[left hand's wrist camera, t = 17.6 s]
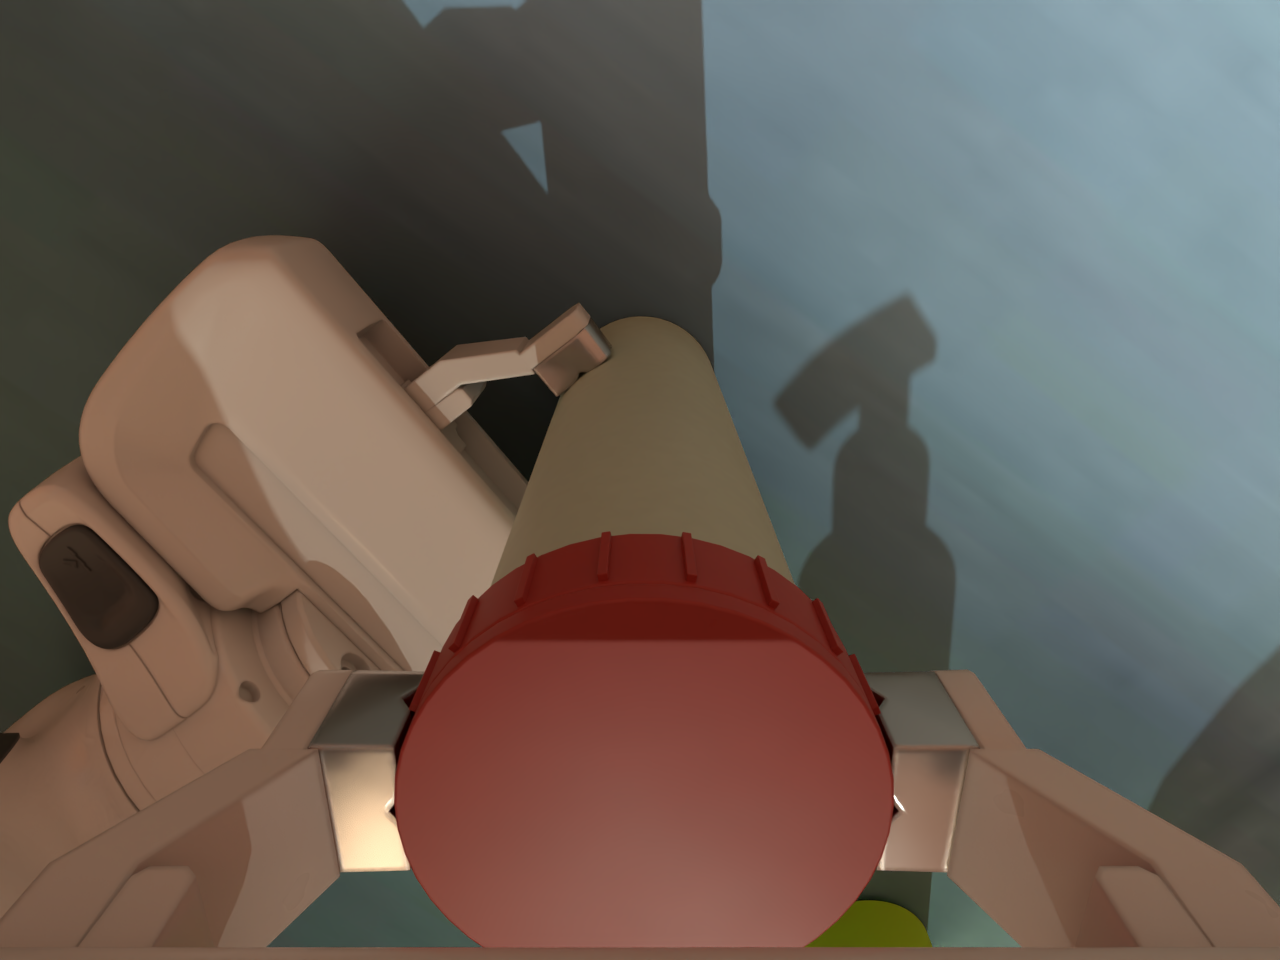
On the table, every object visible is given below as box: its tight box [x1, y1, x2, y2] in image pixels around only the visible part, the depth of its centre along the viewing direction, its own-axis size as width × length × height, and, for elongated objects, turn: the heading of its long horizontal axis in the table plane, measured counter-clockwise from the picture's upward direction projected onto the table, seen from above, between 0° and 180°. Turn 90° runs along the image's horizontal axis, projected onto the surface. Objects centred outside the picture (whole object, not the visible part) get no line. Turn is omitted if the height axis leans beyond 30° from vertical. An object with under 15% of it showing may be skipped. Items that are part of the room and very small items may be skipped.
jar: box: [490, 316, 795, 587], centre depth 18 cm, size 5×5×19 cm
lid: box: [394, 531, 894, 947], centre depth 10 cm, size 6×6×2 cm
